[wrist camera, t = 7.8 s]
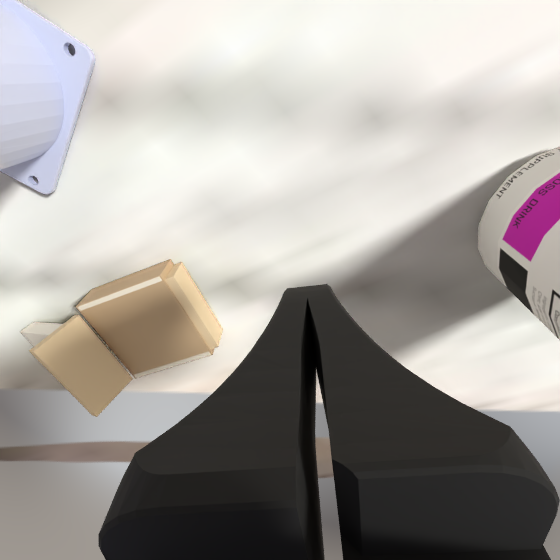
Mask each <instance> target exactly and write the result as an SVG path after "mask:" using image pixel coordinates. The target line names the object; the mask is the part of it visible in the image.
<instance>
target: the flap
mask: <svg viewBox="0 0 560 560" xmlns="http://www.w3.org/2000/svg"><path fill="white" fill-rule="evenodd" d="M20 333H21V334H22V335H23V336H24V337H25V338H26V339H27V340H28V341H29V342H30V343H31V344H32V345H33V346H34V347H33V348H32V349H31V350H29V352H30V353H31V354H32V355H33V356H34V357H35V358H36V359H37V360H38V361H39V362H40V363H41V364H42V365H43V366H44V367H45V368H46V369H47V370H48V371H49V372H50V373H51V374H52V375H53V376H54V377H55V378H56V379H57V380H58V381H59V382H60V383H61V384H62V385H63V386H64V387H65V388H66V389H67V390H68V391H69V392H70V393H71V394H72V395H73V396H74V397H75V398H76V399H77V400H78V401H79V402H80V403H81V404H82V405H83V406H84V407H85V408H86V409H87V410H88V412H89V413H90V414H91V415H93V416H96V417H97V416H98V415H99V414H100V413H101V412H102V410H104V409H105V408H106V407H107V406H108V404H109V403H110V402H111V401H112V400H113V399H114V398H115V397H116V396H117V395H118V394H119V393H120V392H121V391H122V390H123V389H124V387H125V386H126V385H127V384H128V383H129V382H130V381H131V380H132V377H131V376H130V375H129V374H128V373H127V371H126V370H125V369H124V368H123V367H122V366H121V364H120V363H119V362H118V361H117V360H116V358H115V357H114V356H113V355H112V354H111V352H110V351H109V350H108V349H107V348H106V346H105V345H104V344H103V343H102V342H101V340H100V339H99V338H98V337H97V336H96V335H95V333H94V332H93V331H92V330H91V329H90V327H89V326H88V325H87V324H86V323H85V321H84V320H83V319H82V318H81V317H80V315H74V316H73V317H71V318H70V319H69V320H68V321H66V322H65V323H64V324H58V323H41V322H33V323H31V324H30V325H28V326H27V327H26V328H24V329H23V330H22V331H20Z"/></svg>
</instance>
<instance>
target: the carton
mask: <svg viewBox="0 0 560 560" xmlns="http://www.w3.org/2000/svg"><path fill="white" fill-rule="evenodd" d="M76 308H77V309H78V310H79V311H80V312H81V314H82V315H83V316H84V317H85V318H86V320H87V321H88V322H89V323H90V324H91V326H92V327H93V328H94V329H95V330H96V332H97V333H98V334H99V335H100V336H101V338H102V339H103V340H104V341H105V342H106V344H107V345H108V346H109V347H110V348H111V350H112V351H113V352H114V353H115V354H116V356H117V357H118V358H119V359H120V360H121V362H122V363H123V364H124V365H125V366H126V368H127V369H128V370H129V371H130V372H131V374H132V375H133V376H134V377H135V378H138V377H142V376H145V375H148V374H151V373H155V372H158V371H161V370H164V369H168V368H171V367H174V366H177V365H181V364H184V363H187V362H190V361H194V360H197V359H200V358H203V357H207V356H210V355H213V352H214V348H216V347H218V346H219V342H220V338H221V335H222V331H223V329H222V327H221V325H220V324H219V322H218V321H217V319H216V317H215V316H214V314H213V312H212V311H211V309H210V307H209V306H208V304H207V302H206V301H205V299H204V298H203V296H202V294H201V293H200V291H199V289H198V288H197V286H196V284H195V283H194V281H193V280H192V278H191V276H190V275H189V273H188V271H187V270H186V268H185V266H184V265H183V263H182V262H181V263H178V264H175V265H174V264H173V262H172V261H171V259H170V260H167V261H164V262H162V263H159V264H156V265H154V266H151V267H149V268H146V269H143V270H141V271H138V272H136V273H133V274H130V275H128V276H125V277H122V278H120V279H117V280H115V281H112V282H109V283H107V284H104V285H102V286H99V287H96V288H94V289H91V291H90V292H89V293H88V294H87V295H86V296H85V297H84V298H83V299H82V300H81V301H80V302H79V304H78V305H77V306H76Z"/></svg>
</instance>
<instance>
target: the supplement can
mask: <svg viewBox="0 0 560 560" xmlns="http://www.w3.org/2000/svg"><path fill="white" fill-rule="evenodd" d="M478 250H479V252H480V255H481V257H482V259H483V261H484V264H485V266H486V268H487V269H488V270H489V271H490V272H491V273H492V274H493V275H495V276H496V277H497V278H498V279H499V280H500V281H501V282H502V283H503V284H504V285H505V286H506V287H507V288H508V289H509V290H510V291H511V292H512V293H513V294H514V295H515V296H516V297H517V298H518V299H519V300H520V301H521V302H522V303H523V304H524V305H525V306H526V307H527V308H528V309H529V310H530V311H531V312H532V313H533V314H534V315H535V316H536V317H537V318H538V319H539V320H540V321H541V322H542V323H543V324H544V325H545V326H546V327H547V328H548V329H549V330H550V331H551V332H552V333H553V334H554V335H555V336H556V337H557V338H558V339H559V340H560V147H558V148H555V149H552V150H550V151H547V152H545V153H542V154H539V155H537V156H535V157H534V158H532V159H531V160H530V161H528V162H527V163H526V164H524V165H523V166H522V167H520V168H519V169H517V170H516V171H515V172H513V173H512V174H511V175H509V176H508V177H507V179H506V180H505V181H504V182H503V184H502V185H501V186H500V187H499V188H498V190H497V191H496V192H495V193H494V195H493V196H492V197H491V198H490V200H489V201H488V204H487V206H486V209H485V211H484V213H483V216H482V218H481V221H480V223H479V226H478Z"/></svg>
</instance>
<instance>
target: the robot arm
mask: <svg viewBox="0 0 560 560" xmlns="http://www.w3.org/2000/svg"><path fill="white" fill-rule="evenodd" d="M69 44H72V45H73V46H74V48H75V55H74V56H72V55H71V54H70V53H69V50H68V46H69ZM94 64H95V56H94V53H93V52H92V50H91V49H90V48H89V47H88V46H87V45H85V44H84V43H82V42H81V41H79V40H78V39H76V38H75V37H73V36H71V35H70V34H68V33H67V32H65V31H64V30H62V29H61V28H59V27H58V26H56V25H55V24H53V23H52V22H50V21H48V20H47V19H45V18H44V17H42V16H41V15H39V14H38V13H36V12H35V11H33V10H32V9H30V8H29V7H27V6H25V5H24V4H22V3H21V2H19V1H18V0H0V171H1V172H2V173H4V174H6V175H8V176H10V177H12V178H14V179H16V180H18V181H19V182H21V183H23V184H25V185H27V186H29V187H31V188H33V189H35V190H36V191H38V192H40V193H43V194H50V193H52V192H54V191H55V189H56V186H57V183H58V180H59V177H60V173H61V170H62V167H63V164H64V161H65V157H66V154H67V151H68V148H69V144H70V141H71V138H72V135H73V132H74V128H75V125H76V122H77V119H78V116H79V112H80V109H81V106H82V103H83V100H84V96H85V93H86V90H87V87H88V83H89V80H90V77H91V74H92V71H93V67H94ZM33 176H35V177H36V178H37V179H38V183H36V182H35V181H34V179H33ZM316 369H317V374H318V379H319V384H320V389H321V394H322V399H323V404H324V409H325V414H326V419H327V424H328V428H329V436H330V446H331V455H332V465H333V473H334V481H335V490H336V499H337V506H338V507H337V508H338V515H339V524H340V533H341V542H342V551H343V560H551V559H550V557H549V555H548V553H547V552H546V550H545V548H544V546H543V543H544V541H545V539H546V536H547V534H548V532H549V530H550V528H551V526H552V523H553V521H554V519H555V517H556V514H557V510H558V505H559V497H558V494H557V492H556V489H555V487H554V486H553V484H552V482H551V481H550V479H549V478H548V476H547V474H546V473H545V471H544V470H543V468H542V467H541V465H540V464H539V462H538V461H537V460H536V458H535V457H534V456H533V455H532V453H531V452H530V451H529V449H528V448H527V447H526V445H525V444H524V443H523V442H522V441H521V439H520V438H519V437H518V436H517V434H516V433H515V432H514V431H513V429H512V428H511V427H510V426H508V425H505V424H503V423H501V422H499V421H497V420H495V419H493V418H491V417H489V416H487V415H485V414H483V413H481V412H479V411H477V410H475V409H473V408H471V407H469V406H467V405H465V404H463V403H461V402H459V401H457V400H456V399H454V398H452V397H450V396H449V395H447V394H445V393H443V392H442V391H440V390H438V389H436V388H435V387H433V386H432V385H430V384H429V383H427V382H426V381H424V380H423V379H421V378H420V377H418V376H417V375H415V374H414V373H412V372H411V371H409V370H408V369H406V368H405V367H404V366H403V365H401V364H400V363H399V362H397V361H396V360H395V359H394V358H392V357H391V356H390V355H389V354H388V353H386V352H385V351H384V350H383V349H382V348H381V347H380V346H378V345H377V344H376V343H375V342H374V341H373V340H372V339H371V338H370V337H369V336H368V335H367V334H366V333H365V332H364V331H363V330H362V329H361V328H360V327H359V325H358V324H357V323H356V322H355V321H354V320H353V318H352V317H351V316H350V315H349V314H348V313H347V311H346V310H345V309H344V307H343V306H342V305H341V303H340V302H339V300H338V299H337V298H336V296H335V294H334V293H333V291H332V289H331V287H330V286H329V285H327V284H324V285H315V286H306V287H297V288H288V289H286V290H285V292H284V294H283V296H282V299H281V301H280V303H279V305H278V307H277V309H276V311H275V313H274V315H273V317H272V318H271V320H270V322H269V324H268V325H267V327H266V329H265V330H264V332H263V333H262V335H261V336H260V338H259V339H258V341H257V342H256V344H255V345H254V347H253V348H252V350H251V351H250V352H249V354H248V355H247V356H246V357H245V359H244V360H243V361H242V362H241V364H240V365H239V366H238V367H237V368H236V370H235V371H234V372H233V373H232V374H231V375H230V376H229V377H228V378H227V379H226V380H225V381H224V382H223V384H222V385H221V386H220V387H219V388H218V389H217V390H216V391H215V392H214V393H213V394H212V395H210V396H209V397H208V398H207V399H206V400H205V401H204V402H203V403H201V404H200V405H199V406H198V407H197V408H196V409H195V410H193V411H192V412H191V413H190V414H189V415H187V416H186V417H185V418H183V419H182V420H181V421H180V422H179V423H177V424H176V425H175V426H173V427H172V428H170V429H169V430H168V431H166V432H165V433H163V434H162V435H160V436H159V437H158V438H156V439H155V440H153V441H152V442H151V443H149V444H148V445H146V446H145V447H144V448H142V449H141V450H139V451H138V452H136V453H135V455H134V457H133V459H132V461H131V463H130V465H129V466H128V468H127V470H126V472H125V474H124V476H123V478H122V480H121V483H120V485H119V487H118V489H117V492H116V494H115V496H114V499H113V501H112V504H111V506H110V509H109V511H108V513H107V516H106V519H105V521H104V523H103V526H102V528H101V531H100V533H99V547H100V550H101V552H102V554H103V555H104V557H105V559H106V560H324V548H323V536H322V524H321V512H320V499H319V487H318V474H317V461H316V448H315V406H316Z"/></svg>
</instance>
